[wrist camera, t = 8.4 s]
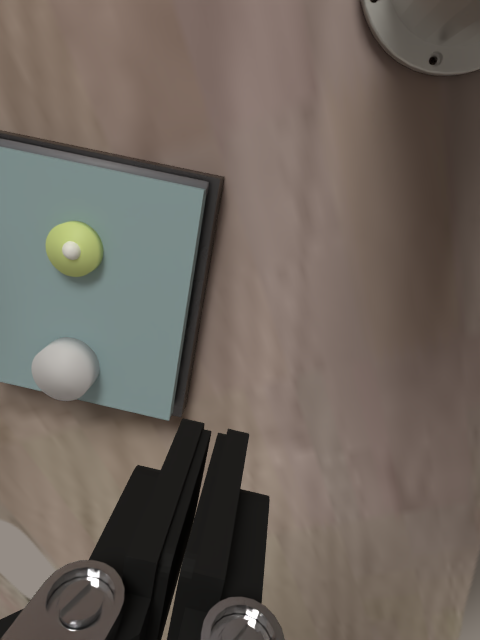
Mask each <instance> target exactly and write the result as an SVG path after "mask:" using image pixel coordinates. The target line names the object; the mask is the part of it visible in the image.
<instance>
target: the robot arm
mask: <svg viewBox="0 0 480 640" xmlns="http://www.w3.org/2000/svg"><path fill="white" fill-rule="evenodd" d="M360 1H361V4H362V8H363V12H364V15H365V19H366V21H367V23H368V25H369V28H370V30H371V32H372V34H373V36H374V37H375V39H376V40H377V41H378V43H379V44H380V45H381V47H382V48H383V49H384V50H385V52H387V53H388V54H389V55H390V56H391V57H392V58H394V59H395V60H396V61H397V62H398V63H400V64H402V65H404V66H406V67H408V68H410V69H412V70H414V71H417V72H421V73H425V74H429V75H436V76H453V75H459V74H465V73H470V72H473V71H476V70H479V69H480V0H378V1H377V2H376V3H372V2H371V1H370V0H360ZM430 57H434V58H435V60H436V61H435V64H434V65H431V64H430V63H429V59H430ZM210 437H211V431H209V430H204V423H201V422H196V421H192V420H188V419H182V421H181V423H180V426H179V428H178V431H177V433H176V435H175V438H174V440H173V442H172V445H171V447H170V450H169V452H168V454H167V457H166V459H165V462H164V464H163V466H162V469H161V470H157V469H153V468H148V467H144V466H140V465H138V466H136V468H135V469H134V471H133V473H132V475H131V477H130V479H129V481H128V483H127V485H126V487H125V489H124V491H123V493H122V495H121V497H120V499H119V501H118V503H117V505H116V507H115V509H114V511H113V513H112V515H111V517H110V519H109V521H108V523H107V525H106V527H105V529H104V531H103V533H102V535H101V537H100V539H99V541H98V543H97V545H96V547H95V549H94V551H93V553H92V555H91V557H90V559H89V560H79V561H76V562H73V563H70V564H67V565H65V566H63V567H61V568H60V569H58V570H56V571H55V572H54V573H53V574H52V575H51V576H50V577H49V578H48V579H47V580H46V581H45V582H44V583H43V585H42V586H41V587H40V589H39V590H38V591H37V592H36V594H35V595H34V596H33V598H32V599H31V600H30V601H29V603H28V604H27V605H26V607H25V608H24V609H22V610H20V611H18V612H16V613H13V614H11V615H9V616H7V617H5V618H3V619H1V620H0V640H161V638H162V635H163V631H164V627H165V624H166V620H167V616H168V613H169V609H170V605H171V602H172V598H173V595H174V591H175V587H176V584H177V580H178V576H179V573H180V576H179V580H178V585H177V591H176V596H175V601H174V606H173V611H172V616H171V622H170V627H169V632H168V637H167V640H285V639H284V635H283V632H282V628H281V626H280V624H279V622H278V621H277V619H276V617H275V616H274V615H273V614H272V613H271V612H270V611H269V610H268V609H267V608H266V606H264V605H262V604H261V603H262V590H263V577H264V564H265V552H266V539H267V526H268V513H269V496H267V495H263V494H259V493H254V492H250V491H246V490H242V489H240V487H241V481H242V475H243V469H244V463H245V457H246V451H247V445H248V439H249V434H248V433H244V432H240V431H235V430H231V429H228V431H227V435H226V434H222V433H218V435H217V438H216V442H215V446H214V449H213V453H212V457H211V460H210V464H209V467H208V471H207V475H206V478H205V482H204V486H203V489H202V493H201V497H200V500H199V504H198V507H197V502H198V497H199V492H200V487H201V482H202V477H203V472H204V467H205V462H206V457H207V452H208V447H209V442H210ZM196 507H197V511H196ZM195 512H196V515H195ZM194 517H195V518H194ZM193 521H194V522H193ZM192 525H193V526H192ZM189 536H190V537H189ZM183 558H184V559H183ZM182 562H183V563H182ZM181 565H182V567H181ZM180 569H181V571H180Z"/></svg>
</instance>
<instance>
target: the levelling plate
mask: <svg viewBox="0 0 480 640" xmlns="http://www.w3.org/2000/svg"><path fill="white" fill-rule="evenodd" d="M208 188H209V182H207V181H202V180H198V179H193V178H188V177H183V176H178V175H174V174H169V173H164V172H159V171H154V170H150V169H145V168H140V167H135V166H131V165H126V164H121V163H116V162H111V161H107V160H102V159H97V158H92V157H87V156H83V155H78V154H73V153H68V152H63V151H59V150H54V149H49V148H44V147H39V146H35V145H30V144H25V143H20V142H15V141H11V140H6V139H1V138H0V382H4V383H8V384H12V385H17V386H21V387H25V388H30V389H34V390H38V391H43V392H44V393H45V394H46V395H48V396H50V397H52V398H54V399H57V400H61V401H72V400H76V399H77V400H82V401H86V402H90V403H95V404H99V405H103V406H107V407H112V408H116V409H120V410H125V411H129V412H133V413H138V414H142V415H146V416H151V417H155V418H159V419H164V420H168V421H169V419H170V417H171V415H172V413H173V407H174V400H175V394H176V387H177V381H178V374H179V368H180V361H181V355H182V349H183V342H184V336H185V329H186V323H187V316H188V310H189V303H190V297H191V290H192V284H193V277H194V271H195V265H196V258H197V252H198V245H199V239H200V232H201V226H202V219H203V213H204V206H205V200H206V195H207V193H208Z"/></svg>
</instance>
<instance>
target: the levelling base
mask: <svg viewBox="0 0 480 640" xmlns="http://www.w3.org/2000/svg"><path fill="white" fill-rule="evenodd" d="M0 138H1V139H6V140H11V141H15V142H20V143H25V144H30V145H35V146H39V147H44V148H49V149H54V150H59V151H63V152H68V153H73V154H78V155H83V156H87V157H92V158H97V159H102V160H107V161H111V162H116V163H121V164H126V165H131V166H135V167H140V168H145V169H150V170H154V171H159V172H164V173H169V174H174V175H178V176H183V177H188V178H193V179H198V180H202V181H207V182H209V188H208V193H207V195H206V200H205V206H204V213H203V219H202V226H201V232H200V239H199V245H198V252H197V258H196V265H195V271H194V277H193V284H192V290H191V297H190V303H189V310H188V316H187V323H186V329H185V336H184V342H183V349H182V355H181V361H180V368H179V374H178V381H177V387H176V394H175V400H174V407H173V413H172V415H173V416H178V417H181V416H182V414H183V412H184V409H185V407H186V404H187V398H188V392H189V386H190V380H191V374H192V368H193V362H194V356H195V350H196V344H197V338H198V332H199V326H200V320H201V314H202V308H203V302H204V296H205V290H206V284H207V278H208V272H209V266H210V260H211V254H212V248H213V242H214V236H215V230H216V224H217V218H218V212H219V206H220V200H221V194H222V188H223V182H224V177H223V176H218V175H213V174H208V173H203V172H199V171H194V170H189V169H184V168H179V167H175V166H170V165H165V164H160V163H155V162H150V161H146V160H141V159H136V158H131V157H126V156H122V155H117V154H112V153H107V152H102V151H98V150H93V149H88V148H83V147H78V146H74V145H69V144H64V143H59V142H54V141H49V140H45V139H40V138H35V137H30V136H25V135H21V134H16V133H11V132H6V131H1V130H0Z"/></svg>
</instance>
